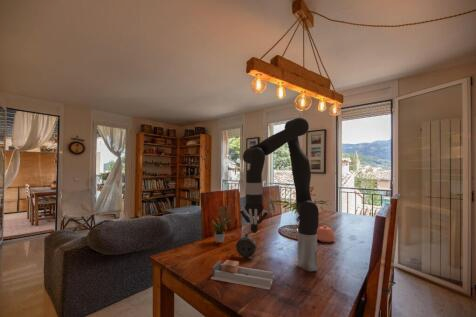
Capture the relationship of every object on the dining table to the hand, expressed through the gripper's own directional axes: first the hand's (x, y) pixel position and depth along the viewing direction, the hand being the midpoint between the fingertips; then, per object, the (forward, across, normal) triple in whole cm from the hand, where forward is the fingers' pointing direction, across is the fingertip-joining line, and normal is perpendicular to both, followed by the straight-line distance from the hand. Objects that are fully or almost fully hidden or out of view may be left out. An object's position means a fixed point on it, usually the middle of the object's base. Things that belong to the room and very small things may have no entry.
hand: (254, 232), depth 96 cm
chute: (+21, +6, 0) cm, 22 cm away
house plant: (+21, +33, -42) cm, 58 cm away
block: (+20, +11, 0) cm, 23 cm away
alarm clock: (+21, +10, -22) cm, 32 cm away
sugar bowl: (+22, -32, -69) cm, 79 cm away
